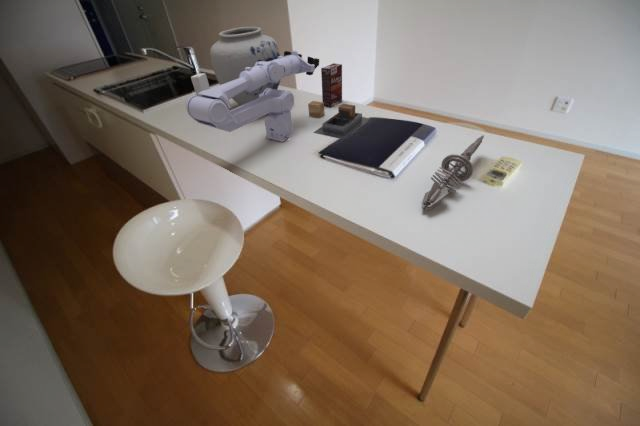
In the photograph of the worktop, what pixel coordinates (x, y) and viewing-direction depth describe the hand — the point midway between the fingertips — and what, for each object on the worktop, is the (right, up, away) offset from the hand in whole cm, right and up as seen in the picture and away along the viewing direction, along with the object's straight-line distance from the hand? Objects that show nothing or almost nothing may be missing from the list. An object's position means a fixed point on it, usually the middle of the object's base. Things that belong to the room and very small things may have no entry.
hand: (309, 59), depth 104 cm
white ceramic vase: (-24, -10, +23) cm, 35 cm away
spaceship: (+39, -47, -28) cm, 67 cm away
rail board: (+12, -24, +2) cm, 27 cm away
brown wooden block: (+14, -22, +3) cm, 26 cm away
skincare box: (-51, -2, +35) cm, 62 cm away
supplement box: (+9, -10, +20) cm, 24 cm away
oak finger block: (+3, -18, +11) cm, 21 cm away
